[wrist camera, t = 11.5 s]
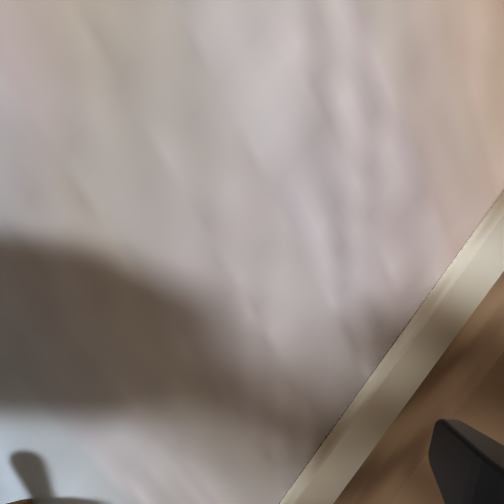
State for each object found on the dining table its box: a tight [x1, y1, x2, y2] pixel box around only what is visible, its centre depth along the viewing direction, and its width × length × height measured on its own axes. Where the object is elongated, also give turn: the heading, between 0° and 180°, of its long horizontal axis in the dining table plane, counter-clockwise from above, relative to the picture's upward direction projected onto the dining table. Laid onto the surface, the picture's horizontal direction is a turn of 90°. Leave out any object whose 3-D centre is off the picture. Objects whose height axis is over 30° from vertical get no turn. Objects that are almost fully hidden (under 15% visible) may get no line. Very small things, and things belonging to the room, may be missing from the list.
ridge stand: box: [279, 190, 504, 504], centre depth 21 cm, size 30×9×4 cm, turn 147°
